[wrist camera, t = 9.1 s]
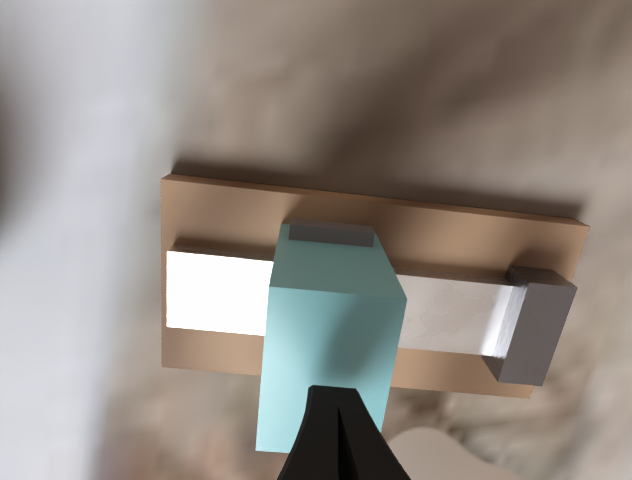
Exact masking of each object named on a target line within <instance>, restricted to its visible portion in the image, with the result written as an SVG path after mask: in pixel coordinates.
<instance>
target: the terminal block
mask: <svg viewBox="0 0 632 480" xmlns="http://www.w3.org/2000/svg"><path fill="white" fill-rule="evenodd" d="M406 304H407V297H406V295H405V293H404V290H403V288H402V286H401V284H400V282H399V280H398V278H397V276H396V274H395V272H394V270H393V268H392V266H391V264H390V262H389V259H388V257H387V255H386V253H385V251H384V249H383V247H382V245H381V243H380V241H379V239H378V237H377V235H376V233H375V231H374V229H373V227H372V226H366V225H356V224H346V223H335V222H325V221H315V220H304V219H294V218H291V220H290V224H281V226H280V231H279V236H278V241H277V246H276V250H275V255H274V260H273V265H272V270H271V275H270V280H269V285H268V295H267V308H266V322H265V335H264V348H263V361H262V374H261V387H260V401H259V414H258V427H257V440H256V451H269V452H284V453H290V451H291V449H292V446H293V444H294V442H295V439H296V437H297V434H298V431H299V428H300V425H301V423H302V420H303V416H304V413H305V408H306V401H307V393H308V388H309V387H310V386H312V385H321V386H333V387H344V388H356V389H357V391H358V392H359V394H360V396H361V398H362V400H363V402H364V404H365V406H366V408H367V410H368V412H369V414H370V415H371V417H372V419H373V421H374V423H375V424H376V426H377V428H378V430H379V431H380V433H381V429H382V424H383V419H384V414H385V409H386V404H387V399H388V394H389V389H390V384H391V379H392V374H393V369H394V364H395V359H396V354H397V349H398V344H399V339H400V334H401V329H402V324H403V319H404V314H405V309H406Z"/></svg>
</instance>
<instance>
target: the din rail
mask: <svg viewBox="0 0 632 480" xmlns="http://www.w3.org/2000/svg"><path fill="white" fill-rule="evenodd" d="M273 260H274V255H271V254H261V253H251V252H241V251H231V250H222V249H212V248H202V247H192V246H183V245H172V246H171V248H170V249H169V250H168V251H167V326H168V327H179V328H190V329H201V330H212V331H223V332H234V333H245V334H256V335H265V322H266V308H267V295H268V285H269V280H270V275H271V270H272V265H273ZM392 268H393V270H394V272H395V274H396V276H397V278H398V280H399V282H400V284H401V286H402V288H403V290H404V293H405V295H406V297H407V304H406V309H405V314H404V319H403V324H402V329H401V334H400V339H399V344H398V347H399V348H410V349H421V350H432V351H443V352H454V353H465V354H476V355H482V357H481V358H482V359H483V361H484V362H485V364H486V365H487V367H488V368H489V370H490V371H491V373H492V374H493V376H494V377H495V379H496V380H497V382H500V383H511V384H523V385H534V386H542V385H543V382H544V379H545V376H546V374H547V371H548V368H549V365H550V363H551V360H552V357H553V354H554V351H555V349H556V346H557V343H558V340H559V338H560V335H561V332H562V329H563V326H564V324H565V321H566V318H567V315H568V313H569V310H570V307H571V304H572V301H573V299H574V296H575V293H576V290H577V287H576V286H575V285H573V284H572V283H570V282H569V281H568V280H566V279H565V278H564V277H562V276H561V275H559V274H558V273H557V272H555V271H554V270H552V269H543V268H533V267H524V266H514V265H508V269H507V272H506V276H505V278H496V277H486V276H476V275H466V274H457V273H447V272H437V271H427V270H417V269H408V268H398V267H392Z"/></svg>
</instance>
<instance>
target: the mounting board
mask: <svg viewBox="0 0 632 480" xmlns="http://www.w3.org/2000/svg"><path fill="white" fill-rule="evenodd" d="M291 218H294V219H304V220H315V221H325V222H335V223H346V224H356V225H366V226H372V227H373V229H374V231H375V233H376V235H377V237H378V239H379V241H380V243H381V245H382V247H383V249H384V251H385V253H386V255H387V257H388V259H389V262H390V264H391V266H392V267H398V268H408V269H417V270H427V271H437V272H447V273H457V274H466V275H476V276H486V277H496V278H505V276H506V272H507V269H508V265H514V266H524V267H533V268H543V269H552V270H554V271H555V272H557V273H558V274H559V275H561V276H562V277H564V278H565V279H566V280H568V281H569V282H570V283H571V280H572V277H573V274H574V271H575V268H576V266H577V263H578V260H579V257H580V254H581V251H582V248H583V246H584V243H585V240H586V237H587V234H588V231H589V229H590V226H588V225H585V224H583V223H581V222H579V221H577V220H575V219H572V218H563V217H554V216H545V215H536V214H527V213H518V212H509V211H500V210H491V209H482V208H473V207H464V206H455V205H446V204H437V203H428V202H419V201H410V200H401V199H392V198H383V197H375V196H366V195H357V194H348V193H339V192H330V191H321V190H312V189H303V188H294V187H285V186H276V185H267V184H258V183H249V182H240V181H231V180H222V179H213V178H204V177H195V176H186V175H177V174H169V175H167V176H165V177H164V178H162V179H161V300H162V367H167V368H179V369H190V370H202V371H214V372H225V373H237V374H249V375H260V376H261V374H262V361H263V348H264V335H256V334H245V333H234V332H223V331H212V330H201V329H190V328H179V327H168V326H167V251H168V250H169V249H170V248H171V246H172V245H183V246H192V247H202V248H212V249H222V250H231V251H241V252H251V253H261V254H271V255H275V250H276V246H277V241H278V236H279V231H280V226H281V224H290V220H291ZM481 357H482V355H476V354H465V353H454V352H443V351H432V350H421V349H410V348H399V347H398V349H397V354H396V359H395V364H394V369H393V374H392V379H391V384H390V387H401V388H412V389H424V390H436V391H447V392H459V393H471V394H482V395H494V396H506V397H517V398H529V399H530V396H531V393H532V390H533V388H534V385H523V384H511V383H500V382H497V380H496V379H495V377H494V376H493V374H492V373H491V371H490V370H489V368H488V367H487V365H486V364H485V362H484V361H483V359H482V358H481Z"/></svg>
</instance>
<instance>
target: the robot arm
mask: <svg viewBox="0 0 632 480" xmlns="http://www.w3.org/2000/svg"><path fill="white" fill-rule="evenodd" d="M277 480H411V479H410V477H409V476H408V475H407V473H406V472H405V471H404V469H403V467H402V466H401V465H400V463H399V462H398V460H397V459H396V457H395V456H394V454H393V453H392V451H391V449H390V448H389V446H388V444H387V443H386V441H385V440H384V438H383V436H382V435H381V433H380V431H379V430H378V428H377V426H376V424H375V423H374V421H373V419H372V417H371V415H370V414H369V412H368V410H367V408H366V406H365V404H364V402H363V400H362V398H361V396H360V394H359V392H358V391H357V389H356V388H344V387H333V386H321V385H312V386H310V387H309V388H308V393H307V401H306V408H305V413H304V416H303V420H302V423H301V425H300V428H299V431H298V434H297V437H296V439H295V442H294V444H293V446H292V449H291V451H290V453H289V455H288V457H287V460H286V462H285V464H284V466H283V468H282V470H281V472H280V474H279V476H278V478H277Z"/></svg>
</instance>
